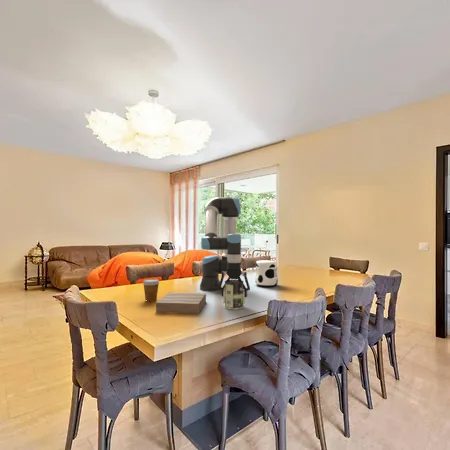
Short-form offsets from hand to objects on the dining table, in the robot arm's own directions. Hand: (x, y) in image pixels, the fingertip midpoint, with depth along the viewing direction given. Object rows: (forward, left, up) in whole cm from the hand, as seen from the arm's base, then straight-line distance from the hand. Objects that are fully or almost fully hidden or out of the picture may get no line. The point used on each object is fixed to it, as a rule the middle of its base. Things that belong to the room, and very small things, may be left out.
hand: (234, 302), depth 153 cm
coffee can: (0, 0, -2) cm, 2 cm away
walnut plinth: (+3, -28, -2) cm, 28 cm away
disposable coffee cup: (-8, -50, -3) cm, 51 cm away
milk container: (-59, +20, -3) cm, 62 cm away
